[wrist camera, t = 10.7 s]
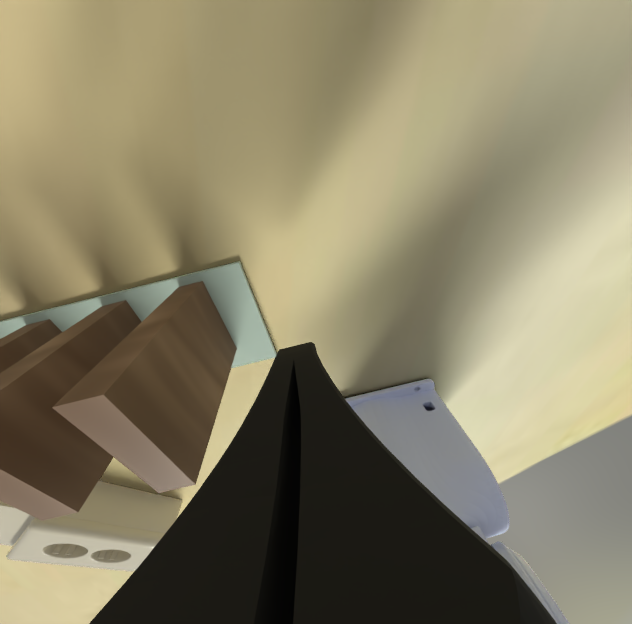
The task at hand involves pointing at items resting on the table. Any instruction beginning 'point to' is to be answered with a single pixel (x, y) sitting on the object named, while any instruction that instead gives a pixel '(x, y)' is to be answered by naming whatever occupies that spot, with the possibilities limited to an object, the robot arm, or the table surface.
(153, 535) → the electrical outlet
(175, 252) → the table surface
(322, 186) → the table surface
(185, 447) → the walnut domino
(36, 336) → the walnut domino
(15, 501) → the walnut domino
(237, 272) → the sage mat
